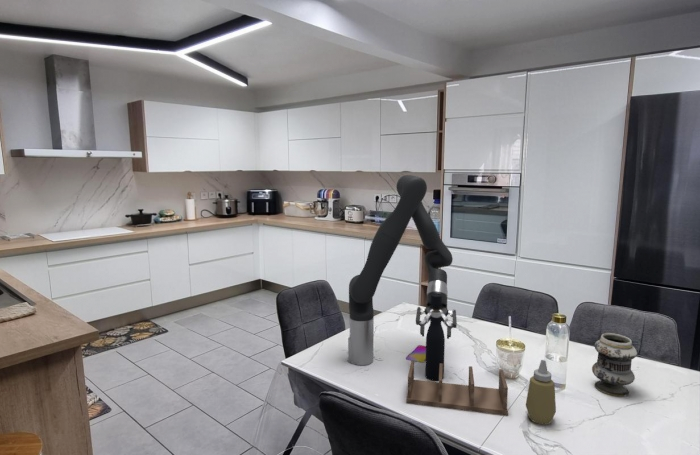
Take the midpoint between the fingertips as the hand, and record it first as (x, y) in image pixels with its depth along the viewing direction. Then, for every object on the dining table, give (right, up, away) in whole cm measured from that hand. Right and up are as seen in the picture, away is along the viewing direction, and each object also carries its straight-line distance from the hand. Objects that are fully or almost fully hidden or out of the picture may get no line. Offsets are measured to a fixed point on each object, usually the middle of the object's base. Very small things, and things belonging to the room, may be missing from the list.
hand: (435, 336), depth 143 cm
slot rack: (+4, -17, -11) cm, 21 cm away
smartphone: (-1, -13, +22) cm, 26 cm away
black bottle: (0, -15, +3) cm, 16 cm away
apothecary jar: (+58, -16, -6) cm, 60 cm away
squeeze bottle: (+26, -18, -22) cm, 39 cm away
